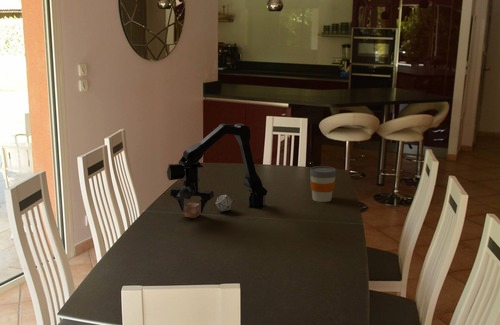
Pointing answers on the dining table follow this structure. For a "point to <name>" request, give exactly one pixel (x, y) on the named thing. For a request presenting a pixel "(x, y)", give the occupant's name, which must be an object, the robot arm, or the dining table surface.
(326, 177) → the reusable coffee cup
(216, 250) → the dining table surface
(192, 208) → the terracotta block
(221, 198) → the game die
